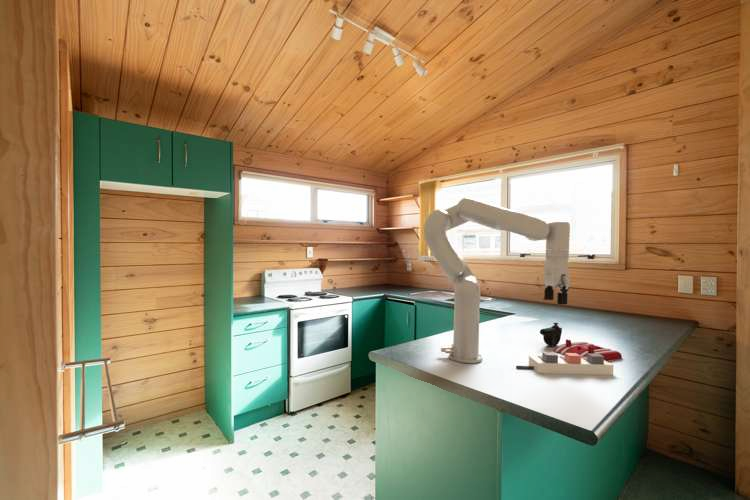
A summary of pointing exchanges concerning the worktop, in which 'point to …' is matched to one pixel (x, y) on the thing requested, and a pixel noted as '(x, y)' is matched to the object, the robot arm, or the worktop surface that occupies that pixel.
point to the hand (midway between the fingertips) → (555, 301)
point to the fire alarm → (587, 350)
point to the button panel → (568, 366)
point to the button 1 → (549, 357)
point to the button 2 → (572, 358)
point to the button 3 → (595, 358)
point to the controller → (551, 334)
